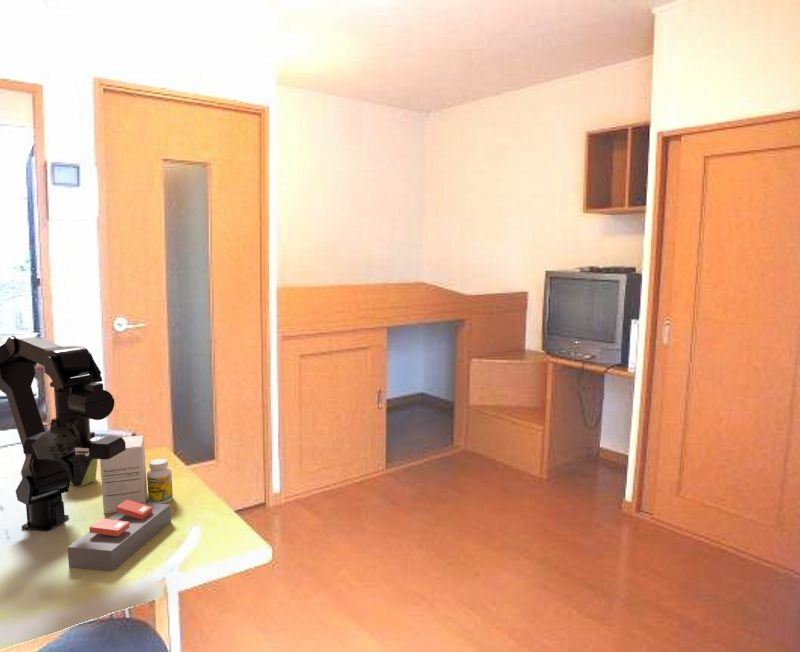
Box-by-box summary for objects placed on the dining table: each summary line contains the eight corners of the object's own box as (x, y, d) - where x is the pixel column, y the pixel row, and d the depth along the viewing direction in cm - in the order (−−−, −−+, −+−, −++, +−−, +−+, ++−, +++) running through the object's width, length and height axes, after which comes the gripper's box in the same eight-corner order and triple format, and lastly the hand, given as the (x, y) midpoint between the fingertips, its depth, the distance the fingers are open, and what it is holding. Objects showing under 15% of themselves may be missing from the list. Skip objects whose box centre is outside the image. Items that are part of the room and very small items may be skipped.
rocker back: (115, 511, 120) (116, 506, 120) (126, 504, 123) (127, 499, 123) (142, 519, 119) (142, 514, 119) (152, 512, 123) (152, 506, 122)
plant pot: (63, 478, 151) (60, 446, 150) (103, 472, 155) (101, 441, 154) (59, 491, 143) (56, 458, 142) (102, 485, 147) (100, 452, 146)
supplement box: (107, 498, 139) (103, 438, 137) (147, 493, 142) (144, 434, 140) (102, 514, 130) (98, 450, 129) (145, 508, 134) (142, 445, 132)
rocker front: (89, 532, 112) (89, 526, 112) (101, 524, 116) (101, 518, 115) (117, 536, 111) (117, 530, 111) (129, 527, 115) (129, 521, 115)
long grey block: (69, 567, 109) (67, 547, 108) (144, 510, 132) (143, 494, 132) (112, 571, 107) (111, 550, 107) (180, 513, 131) (179, 496, 130)
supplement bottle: (175, 494, 141) (173, 457, 140) (169, 504, 136) (167, 465, 135) (152, 496, 140) (150, 458, 139) (145, 505, 135) (143, 466, 134)
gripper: (-4, 420, 108) (3, 499, 110) (87, 426, 105) (92, 507, 108) (41, 404, 119) (47, 477, 121) (125, 409, 116) (129, 483, 118)
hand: (77, 486), depth 117 cm, fingers closed
